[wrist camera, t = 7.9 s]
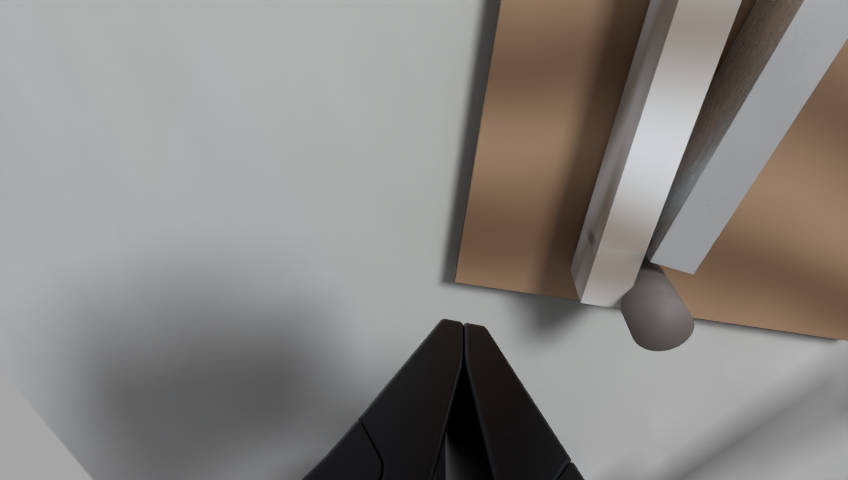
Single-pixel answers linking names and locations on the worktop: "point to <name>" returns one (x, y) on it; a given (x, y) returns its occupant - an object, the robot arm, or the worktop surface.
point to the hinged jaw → (745, 120)
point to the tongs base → (563, 162)
